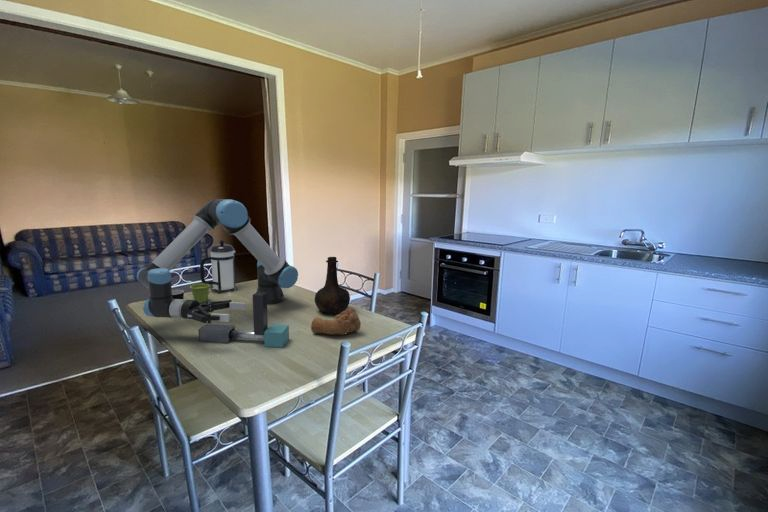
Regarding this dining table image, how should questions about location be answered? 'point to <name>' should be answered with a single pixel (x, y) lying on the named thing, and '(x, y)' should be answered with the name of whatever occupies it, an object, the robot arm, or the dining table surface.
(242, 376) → the dining table surface
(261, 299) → the dark lever handle
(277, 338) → the socket block
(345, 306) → the glass bottle
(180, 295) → the coffee mug
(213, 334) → the outer sleeve
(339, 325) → the clay pipe
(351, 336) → the dining table surface
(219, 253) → the coffee press
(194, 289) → the plant pot
